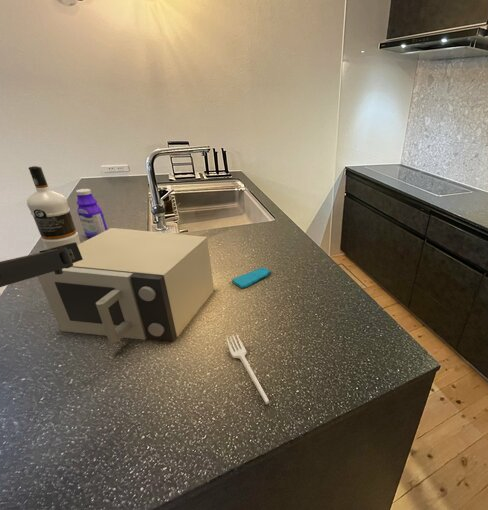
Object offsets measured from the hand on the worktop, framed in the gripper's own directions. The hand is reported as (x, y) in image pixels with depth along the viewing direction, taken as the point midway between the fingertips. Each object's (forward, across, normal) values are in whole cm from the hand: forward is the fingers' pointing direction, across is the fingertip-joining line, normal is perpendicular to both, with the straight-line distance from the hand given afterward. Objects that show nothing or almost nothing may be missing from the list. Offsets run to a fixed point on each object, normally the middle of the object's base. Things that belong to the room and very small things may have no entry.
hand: (24, 262), depth 44 cm
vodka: (+57, -28, -7) cm, 64 cm away
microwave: (+32, -1, -20) cm, 37 cm away
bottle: (+78, -28, -1) cm, 83 cm away
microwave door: (+21, -8, -21) cm, 31 cm away
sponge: (+44, +26, -22) cm, 55 cm away
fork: (+8, +24, -32) cm, 41 cm away
